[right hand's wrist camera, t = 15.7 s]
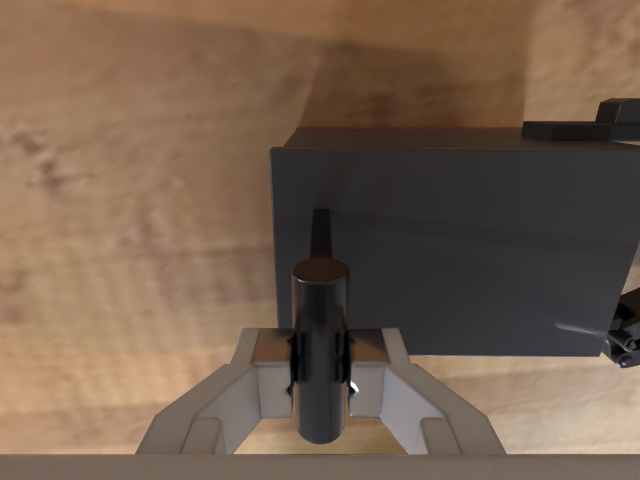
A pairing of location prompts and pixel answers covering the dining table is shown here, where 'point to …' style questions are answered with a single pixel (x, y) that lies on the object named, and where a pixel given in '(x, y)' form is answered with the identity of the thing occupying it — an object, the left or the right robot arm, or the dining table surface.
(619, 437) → the dining table surface
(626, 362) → the left robot arm
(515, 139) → the chest
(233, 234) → the dining table surface
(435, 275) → the lid
